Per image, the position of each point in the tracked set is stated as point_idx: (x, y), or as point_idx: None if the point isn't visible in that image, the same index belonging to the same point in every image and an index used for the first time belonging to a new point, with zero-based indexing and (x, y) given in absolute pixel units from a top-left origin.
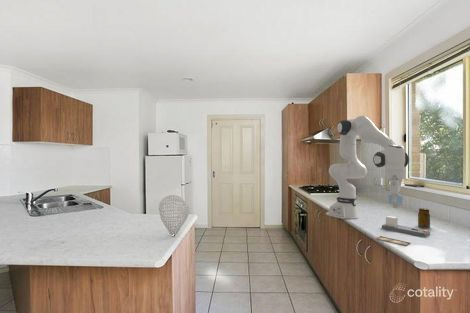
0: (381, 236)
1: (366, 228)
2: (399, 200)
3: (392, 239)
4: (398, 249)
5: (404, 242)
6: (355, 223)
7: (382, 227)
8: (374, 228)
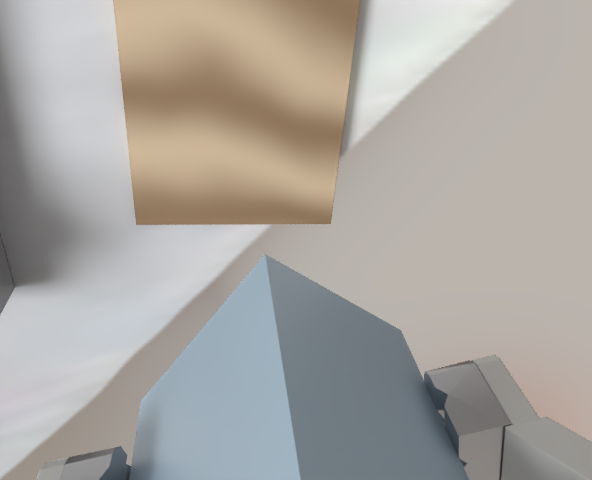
0: (253, 216)
1: (85, 369)
2: (352, 368)
3: (274, 126)
4: (497, 7)
5: (291, 15)
6: (20, 459)
7: (4, 299)
8: (22, 338)
